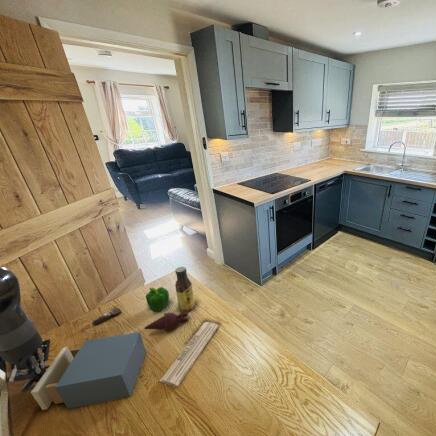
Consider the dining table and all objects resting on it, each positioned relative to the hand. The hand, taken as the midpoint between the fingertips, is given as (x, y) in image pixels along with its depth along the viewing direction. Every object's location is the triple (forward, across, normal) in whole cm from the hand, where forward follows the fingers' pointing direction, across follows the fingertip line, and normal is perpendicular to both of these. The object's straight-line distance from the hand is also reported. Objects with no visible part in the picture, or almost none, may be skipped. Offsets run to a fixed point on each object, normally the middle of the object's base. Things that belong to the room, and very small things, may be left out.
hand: (42, 379), depth 70 cm
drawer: (+4, 0, +7) cm, 8 cm away
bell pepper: (+5, -30, +24) cm, 38 cm away
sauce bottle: (+5, -27, +35) cm, 45 cm away
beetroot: (+5, -17, +30) cm, 35 cm away
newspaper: (+5, -4, +40) cm, 41 cm away
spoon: (+5, -27, +5) cm, 28 cm away
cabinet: (+5, 0, +17) cm, 17 cm away
